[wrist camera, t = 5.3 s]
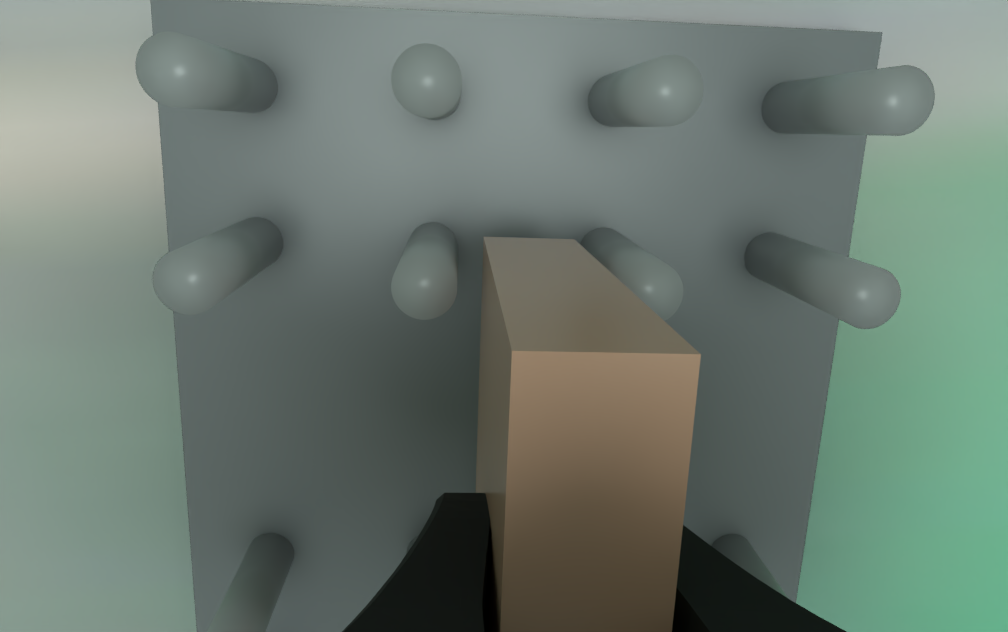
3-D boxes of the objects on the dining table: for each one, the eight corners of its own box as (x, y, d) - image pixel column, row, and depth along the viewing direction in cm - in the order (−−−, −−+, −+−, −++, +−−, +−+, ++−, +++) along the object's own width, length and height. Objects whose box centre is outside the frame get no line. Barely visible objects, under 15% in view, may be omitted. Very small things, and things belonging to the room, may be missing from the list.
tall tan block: (550, 634, 15) (627, 1051, 8) (470, 635, 15) (481, 1059, 8) (574, 239, 13) (700, 355, 6) (483, 236, 13) (511, 350, 6)
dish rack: (763, 684, 19) (863, 869, 15) (216, 691, 19) (131, 890, 14) (856, 38, 16) (1035, -3, 11) (170, 5, 15) (28, -56, 10)
